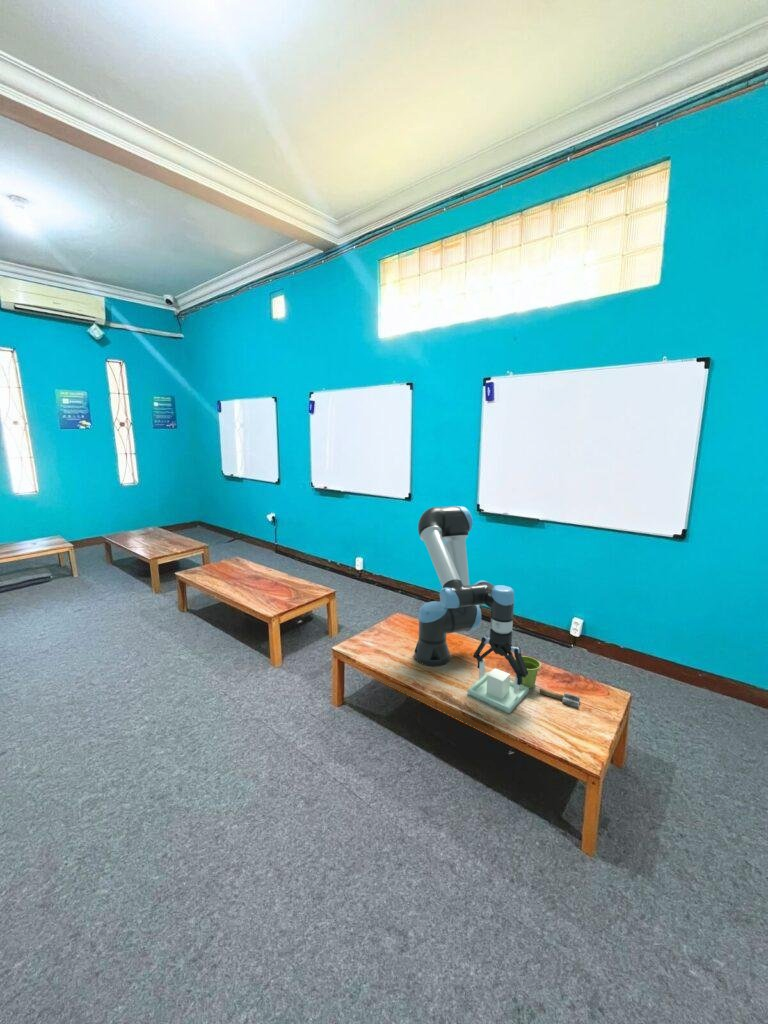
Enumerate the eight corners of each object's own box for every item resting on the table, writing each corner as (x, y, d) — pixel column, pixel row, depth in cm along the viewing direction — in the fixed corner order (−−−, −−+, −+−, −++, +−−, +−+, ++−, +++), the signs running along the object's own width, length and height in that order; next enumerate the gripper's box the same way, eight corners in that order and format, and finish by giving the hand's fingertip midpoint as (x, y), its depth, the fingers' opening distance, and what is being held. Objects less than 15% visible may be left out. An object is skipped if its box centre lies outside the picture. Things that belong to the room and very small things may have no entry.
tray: (467, 694, 145) (467, 689, 145) (488, 676, 157) (488, 671, 157) (509, 714, 135) (509, 708, 134) (528, 692, 146) (528, 687, 146)
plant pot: (525, 693, 146) (526, 671, 145) (507, 679, 154) (508, 659, 153) (544, 687, 150) (546, 666, 148) (526, 674, 158) (527, 654, 157)
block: (486, 692, 146) (487, 674, 144) (494, 685, 150) (495, 668, 149) (501, 699, 142) (502, 681, 140) (509, 691, 146) (510, 674, 145)
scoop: (538, 695, 145) (538, 691, 144) (540, 690, 148) (541, 685, 148) (578, 708, 138) (578, 703, 137) (579, 701, 141) (579, 697, 141)
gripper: (465, 622, 147) (463, 675, 151) (531, 644, 131) (527, 703, 134) (475, 616, 153) (473, 667, 156) (540, 636, 136) (536, 693, 140)
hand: (498, 684), depth 145 cm, fingers open, 13 cm apart
